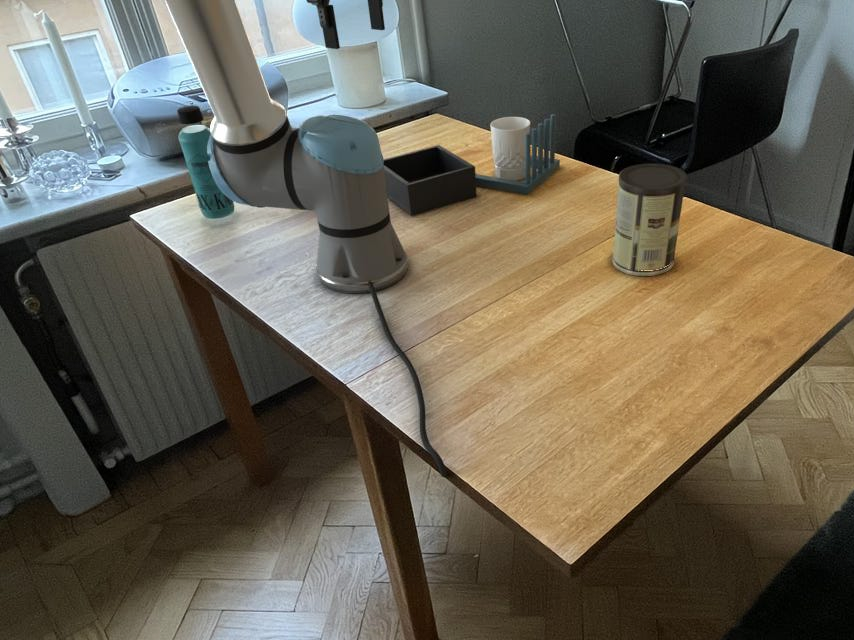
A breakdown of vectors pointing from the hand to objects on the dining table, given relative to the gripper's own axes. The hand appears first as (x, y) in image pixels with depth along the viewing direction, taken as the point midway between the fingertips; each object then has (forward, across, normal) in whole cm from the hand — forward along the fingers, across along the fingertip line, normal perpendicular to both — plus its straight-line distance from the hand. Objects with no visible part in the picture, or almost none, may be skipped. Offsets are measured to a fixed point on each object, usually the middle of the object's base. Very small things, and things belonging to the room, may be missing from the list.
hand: (356, 38), depth 134 cm
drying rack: (+25, -12, +26) cm, 38 cm away
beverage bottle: (+25, +30, -15) cm, 42 cm away
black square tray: (+25, +3, +15) cm, 29 cm away
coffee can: (+25, +11, +64) cm, 70 cm away
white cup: (+25, -12, +26) cm, 38 cm away
